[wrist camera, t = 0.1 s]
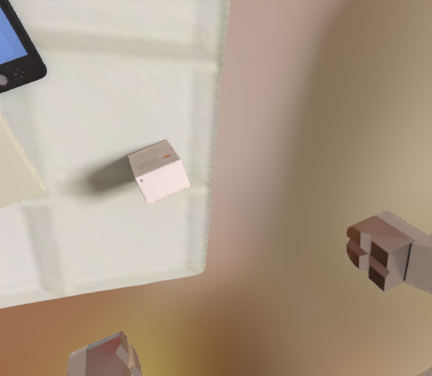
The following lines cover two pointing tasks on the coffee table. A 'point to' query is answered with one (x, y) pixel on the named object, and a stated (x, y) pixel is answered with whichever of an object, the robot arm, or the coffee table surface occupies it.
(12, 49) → the handheld game console
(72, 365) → the robot arm
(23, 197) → the beige flat block
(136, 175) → the small box
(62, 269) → the coffee table surface
